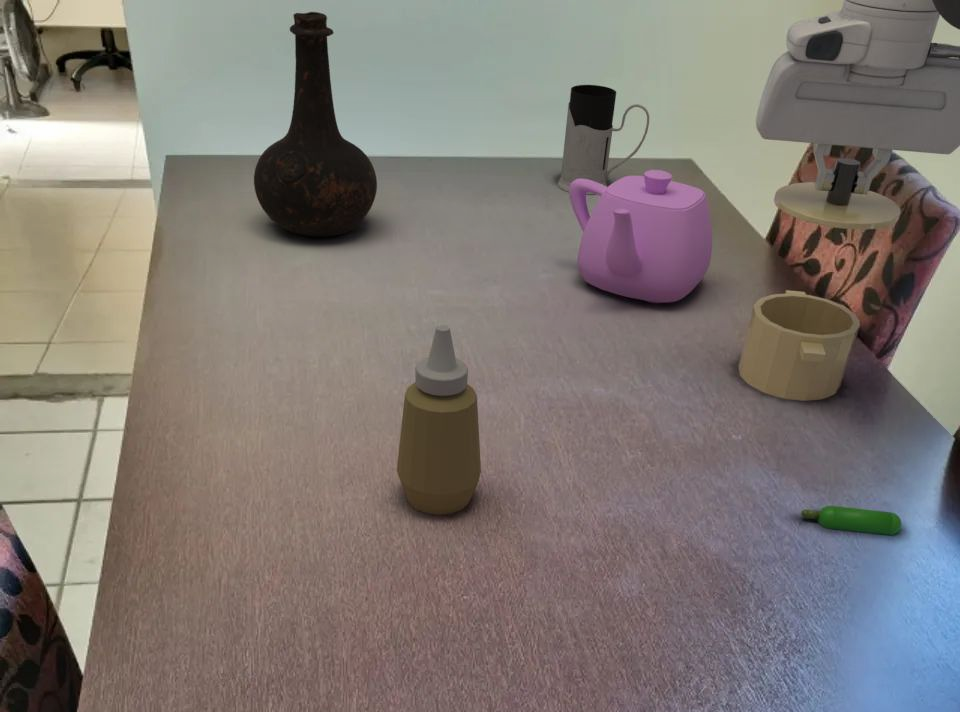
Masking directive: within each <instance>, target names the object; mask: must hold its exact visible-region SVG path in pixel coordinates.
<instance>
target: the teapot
mask: <svg viewBox="0 0 960 712" xmlns="http://www.w3.org/2000/svg"><path fill="white" fill-rule="evenodd" d="M672 178H673V175H672V174H671V173H669V172H668V171H665V170H660V169H649V170H646V171H644V172H643V175H626V176H623V177H621V178H618V179H617V180H615V181H614V182H612V183H610V185H607V186H604V185H602V184H600V183H597V182H595V181H592V180H588V179H582V178H581V179H576V180H574V181H573V182H572V183H571V185H570V188H569V192H568V193H569V201H570V204H571V207H572V208H571V209H572V210H573V213H574V215H575V217H576V219H577V222H578V224H579V226H580V228H581V230H582V232H583V233H582V236H581V240H580V244H579V248H578V252H577V253H578V254H577V265H578V269H579V271H580V273H581V274H580V275H581V276H582V278H583V280H584V281H585V282H586V283H588V284H589V285H591V286H593V287H596V288H598V289H599V290H600V291H601V290H602V291H603V292H604V291H605V292H609V293H612V294H614V295H619V296H622V297H626V298H631V299H636V300H641V301H645V302H648V303H650V304H662V303H675V302H678V301H680V300H682V299H683V298H685V297H686V296H688V295H689V294H690V293H691V292H692V291H693V290H694V289H695V288H696V287H697V286H698V284H699V283H700V282H701V280H702V279H703V278H704V276H705V275H706V274H707V272H708V270H709V267H710V264H711V259H712V253H713V252H712V251H713V228H712V220H711V213H710V208H709V201H708V199H707V195H706V193H705V191H703V190H702V189H700V188H697V187H695V186H692V185H689V184H685V183H681V182H677V181H674V180H672ZM587 192H591V193H595V194H594V195H597V196H599V198H598V201H597V202H596V204H595V206H594V208H593V210H592V212H591V214H590V213H589V209H588V204H587V195H586V193H587Z"/></svg>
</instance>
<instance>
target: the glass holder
mask: <svg viewBox="0 0 960 712" xmlns="http://www.w3.org/2000/svg"><path fill="white" fill-rule="evenodd" d="M616 98H617V91H616V90H615V89H614V88H611V87H608V86H604V85H597V84H578V85H574V86H572V87H571V88H570V95H569V102H568V104H567V113H566V123H565V134H564V142H563V143H564V144H563V153H562V162H561V173H560V177H559V180H558V181H557V187H558V188H560V189H561V190H562V191H565V192H566V193H569V188H570V185H571V183H572V182H573V181H574V180H576V179H581V178H582V179H588V180H592V181H595V182H597V183H600V184H602V185H604V186H607V187H608V184H607V180H608V179H609V174H610V173H611V172H612V171H614V170H615V169H616V168H618V167H619V166H621V165H623V164H624V163H625V162H627V161H628V160H629V159H631V158H632V157H633V156H635V155H636V154H637V152H638V151H639V150H640V148H641V146H642V145H643V143H644V141H645V140H646V136H647V134H648V130H649V125H650V114H649V111H648V109H647V108H646V107H645V106H644V105H642V104H638V103H635V104H631V105H629V106H628V107H627V108H626V109H625V110H624V113H623V115H622V118H621V124H620V127H618V128H614V126H613V122H614V115H615V107H616V106H615V105H616ZM633 108H640V109H641V110H643V111H644V112H645V115H646V126H645V129H644V133H643V135H642V138H641V140H640V142H639V144H638V145H637V147H636V148H635V149H634V151H632V152H631V153H630V154H628V156H627V157H625V158H624V159H623V160H621V161H619V162H618V163H617V164H615V165H614V166H612V167H611V168H610V169H609V170H608V168H609V159H610V152H611V145H612V138H613V132H620V131H621V130H622V129H623V128H624V127H625V121H626V117H627V114H628V112H629V111H630V110H631V109H633ZM589 195H590V196H592V195H593V196H594V195H596V194H595V193H591V192H587V193H586V196H589Z"/></svg>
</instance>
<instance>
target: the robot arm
mask: <svg viewBox="0 0 960 712" xmlns="http://www.w3.org/2000/svg"><path fill="white" fill-rule="evenodd" d="M940 16H941V18H942V19H943V20H944V21H945V22H947V23H948V24H949V25H950V26H951V27H954V28H955V29H957V30H959V31H960V0H843V3H842V7H841V9H840V10H837V11H834V12H830V13H826V14H822V15H819V16H815V17H811V18H807V19H803V20H799V21H796V22H794V23H792V24H791V25H790V26H788V27H789V28H788V30H787V33H786V37H785V46H786V49H787V51H786V52H784V53H782V54H781V55H780V56H779V57H777V59H776V60H775V61H774V63H773V65H772V67H771V69H770V72H769V74H768V76H767V79H766V82H765V84H764V87H763V91H762V94H761V97H760V101H759V104H758V108H757V111H756V115H755V127H756V130H757V132H758V134H759V135H760V136H761V139H763V140H771V141H783V142H791V143H792V142H793V143H807V144H813V146H812V152H813V155H814V159H815V163H816V167H817V174H816V178H815V181H814V182H815V189H816V190H819V191H831V189H832V184H831V183H832V182H833V181H834V178H835V173H834V169H830V168H827V166H826V165H827V164H826V161H825V158H824V157H828V156H830V154H831V150H832V147H833V146H840V147H841V146H842V147H843V146H844V147H851V148H853V147H854V148H855V147H856V148H867V149H872V152H871V153H872V156H873V157H874V158H873V160H871V162H870V163H869V164H868V166H867V167H865V169H864V170H863V171H858V174H857V178H856V181H855V185H854V188H853V192H852V193H854V194H865V195H867V194H868V191H870V188H871V185H872V181H873V179H874V178H875V177H876V176H877V175H878V174H879V173H880V172H881V171H882V170H883V168H884V167H885V166H887V164H888V163H889V162H890V159H891V157H892V153H893V151H900V152H913V153H925V154H935V155H936V154H937V155H938V154H939V155H950V154H952V153H953V152H955V151H956V150H957V149H958V148H959V147H960V45H953V44H949V43H941V42H939V43H938V42H932V41H933V38H934V35H935V32H936V29H937V26H938V22H939V20H940Z"/></svg>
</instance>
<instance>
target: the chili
mask: <svg viewBox="0 0 960 712" xmlns="http://www.w3.org/2000/svg"><path fill="white" fill-rule="evenodd" d="M800 515H801V517H802V518H804V519H812V520H816V522H817V524H818V525H820V526H821V527H823V528H826V529H830V530H838V531H839V530H840V531H848V532H856V533H868V534H876V535H884V536H894V535H897V534H898V533H899V532H900V530H901V528H902V520H901V518H900V516H899V515H898V514H896V513H895V512H892V511H884V510H883V511H882V510H874V509H864V508H855V507H846V506H836V505H827V506H824V507H822V508H821V509H820V510H814V509H813V510H812V509H803V510H802V511H801V513H800Z"/></svg>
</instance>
